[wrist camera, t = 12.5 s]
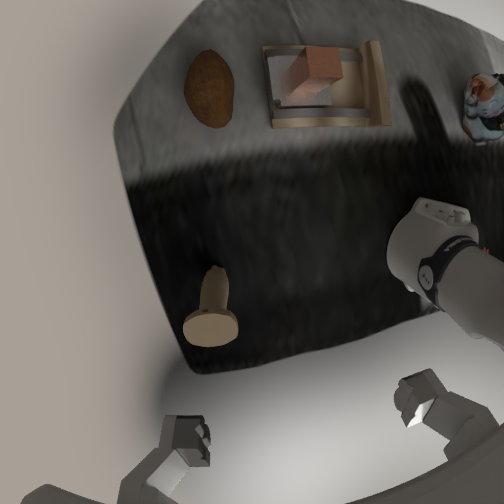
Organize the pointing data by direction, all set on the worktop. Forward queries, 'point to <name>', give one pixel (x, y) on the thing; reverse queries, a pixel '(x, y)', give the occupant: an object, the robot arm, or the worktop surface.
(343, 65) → the frame
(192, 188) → the worktop surface
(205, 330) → the handle
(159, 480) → the robot arm
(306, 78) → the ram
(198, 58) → the potato
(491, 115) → the lucky cat figurine
